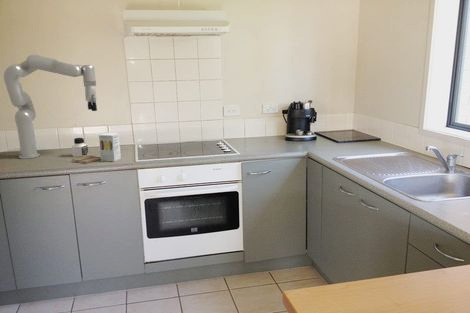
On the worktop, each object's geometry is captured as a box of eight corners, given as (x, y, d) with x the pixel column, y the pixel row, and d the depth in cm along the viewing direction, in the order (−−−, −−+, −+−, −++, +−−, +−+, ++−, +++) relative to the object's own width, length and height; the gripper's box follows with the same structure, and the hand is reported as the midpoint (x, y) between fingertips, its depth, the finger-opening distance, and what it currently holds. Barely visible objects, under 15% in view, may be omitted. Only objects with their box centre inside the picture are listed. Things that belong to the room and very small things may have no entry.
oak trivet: (72, 161, 258) (72, 159, 258) (87, 157, 268) (86, 155, 268) (86, 163, 252) (85, 161, 252) (100, 159, 263) (100, 157, 262)
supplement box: (100, 161, 258) (98, 134, 254) (107, 157, 267) (105, 132, 263) (115, 161, 256) (112, 135, 252) (121, 158, 265) (119, 132, 261)
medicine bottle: (82, 157, 269) (80, 139, 267) (72, 156, 271) (70, 139, 268) (88, 154, 276) (86, 137, 273) (78, 154, 278) (77, 136, 275)
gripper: (80, 83, 275) (83, 109, 279) (87, 85, 261) (89, 111, 265) (92, 83, 279) (95, 108, 283) (99, 84, 265) (101, 110, 269)
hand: (92, 110), depth 274 cm, fingers open, 9 cm apart
